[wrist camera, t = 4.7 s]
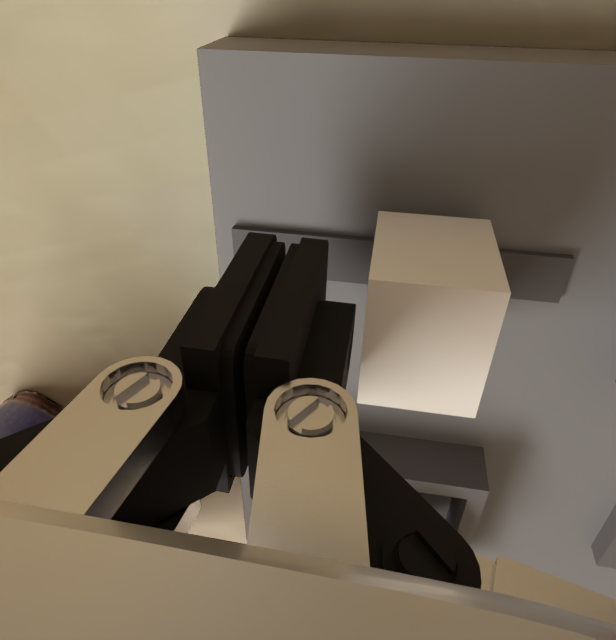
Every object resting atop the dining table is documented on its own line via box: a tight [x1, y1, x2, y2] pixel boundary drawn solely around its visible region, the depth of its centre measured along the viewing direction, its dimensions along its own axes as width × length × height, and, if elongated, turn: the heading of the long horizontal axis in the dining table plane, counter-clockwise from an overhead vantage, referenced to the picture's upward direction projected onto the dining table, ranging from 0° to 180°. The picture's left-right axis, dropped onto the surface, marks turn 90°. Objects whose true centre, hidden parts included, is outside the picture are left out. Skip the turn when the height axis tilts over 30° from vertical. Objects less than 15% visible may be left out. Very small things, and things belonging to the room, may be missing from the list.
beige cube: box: [357, 211, 511, 418], centre depth 11 cm, size 3×2×3 cm
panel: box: [197, 37, 616, 600], centre depth 15 cm, size 18×17×4 cm
